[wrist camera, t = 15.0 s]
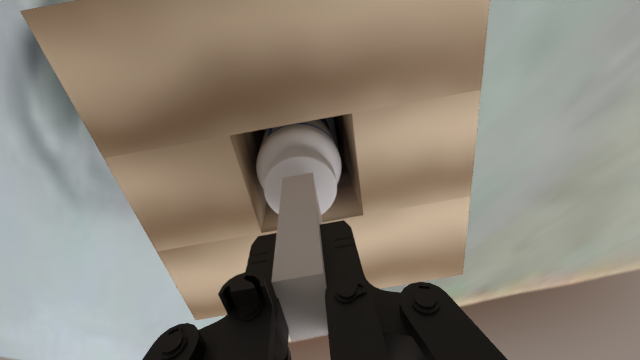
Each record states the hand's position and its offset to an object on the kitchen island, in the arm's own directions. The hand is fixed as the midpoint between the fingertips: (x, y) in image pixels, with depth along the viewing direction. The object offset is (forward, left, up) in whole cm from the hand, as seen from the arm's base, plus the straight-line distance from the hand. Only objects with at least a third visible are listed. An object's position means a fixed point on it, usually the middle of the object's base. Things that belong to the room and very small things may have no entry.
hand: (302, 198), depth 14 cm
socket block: (0, 0, -12) cm, 12 cm away
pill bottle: (0, 0, -11) cm, 11 cm away
